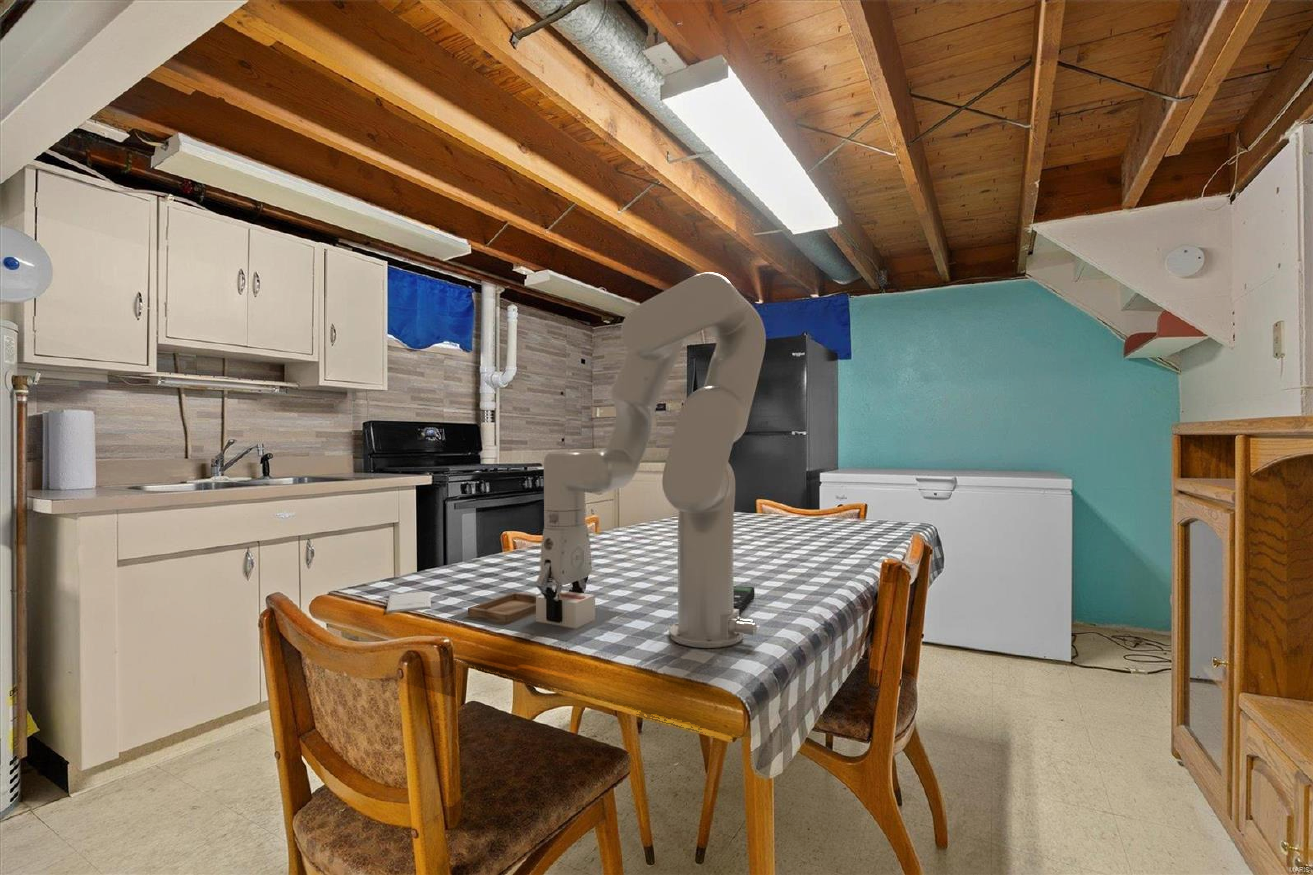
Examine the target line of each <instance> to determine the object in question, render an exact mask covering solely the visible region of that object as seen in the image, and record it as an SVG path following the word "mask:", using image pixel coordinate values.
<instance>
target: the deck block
mask: <svg viewBox="0 0 1313 875" xmlns="http://www.w3.org/2000/svg"><path fill="white" fill-rule="evenodd" d="M553 590H554V592H555V589H553ZM559 600H562V622H560V623H557V622H551V621H547V620H546V599H544V595H543V594H540V595H537V597H536V621H537V622H542V623H548V624H554V625H559V626H565V627H570V628H578V627H580V626H582V625H584V624H587V623H589V622H591V621H593V620H595V608H596V594H589V593H585V592H584V593H576V592H569V590H563V589H562V590H561V594H560V599H559Z"/></svg>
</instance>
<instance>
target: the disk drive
mask: <svg viewBox="0 0 1313 875" xmlns="http://www.w3.org/2000/svg"><path fill="white" fill-rule="evenodd" d="M755 593H756V592H755V586H754V587H753V586H742V585H739V586H738V585H734V609H739V616H740V614H741V613H742V614H743V612H744V611H745V610H746V609H747V607H748V606H749V605H750V604H751V602H752V601H753V600H754V599H755V598H754V597H756V596H755ZM751 600H752V601H751ZM749 603H750V604H749ZM748 604H749V605H748ZM747 605H748V606H747ZM746 606H747V607H746ZM743 610H744V611H743ZM742 611H743V612H742ZM742 614H741V615H742Z"/></svg>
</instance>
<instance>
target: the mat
mask: <svg viewBox="0 0 1313 875" xmlns="http://www.w3.org/2000/svg"><path fill="white" fill-rule="evenodd" d="M623 614H624V612H622V611H615V610H608V609H602V608H597V607H595V620H593V621H591V622H589V623H587V624H584V625H582V626H580V627H578V628H570V627H565V626H559V625H554V624H548V623H542V622H537V621H536V613H535V614H533V615H530V616H527V617H525V618H522V619H520V620H517V621H515V622H512V623H510V624H505V623H500V622H495V621H489V620H484V619H479V618H473V617H468V610H465V611H463V612H461V613H460V612H459V613H457V614H454V615H451V616H447V619H450V620H454V621H461V622H466V623H471V624H475V625H481V626H486V627H492V628H496V629H500V630H506V631H512V632H517V633H523V634H528V635H532V636H537V637H542V638H549V639H553V640H559V641H564V642H568V641H570V640H572V639H574V638H576V637H578V636H579V635H582V634H584V633H586V632H588V631H590V630H592V629H594V628H597V627H598V626H601V625H602V624H604V623H606V622H608V621H610V620H612V619H613V620H614V619H615V618H617V617H619V616H621V615H623Z"/></svg>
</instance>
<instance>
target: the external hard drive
mask: <svg viewBox="0 0 1313 875" xmlns="http://www.w3.org/2000/svg"><path fill="white" fill-rule="evenodd" d="M431 600H432V599H431V592H430V591H417V592H409V593H408V592H406V593H405V592H404V593H395V594H390V595H389V596H388V601H387V607H386V612H385V613H386V614H385V615H390V614H394V613H401V612H410V611H419V610H420V611H422V610H431V609H432V603H431V602H432V601H431Z"/></svg>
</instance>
